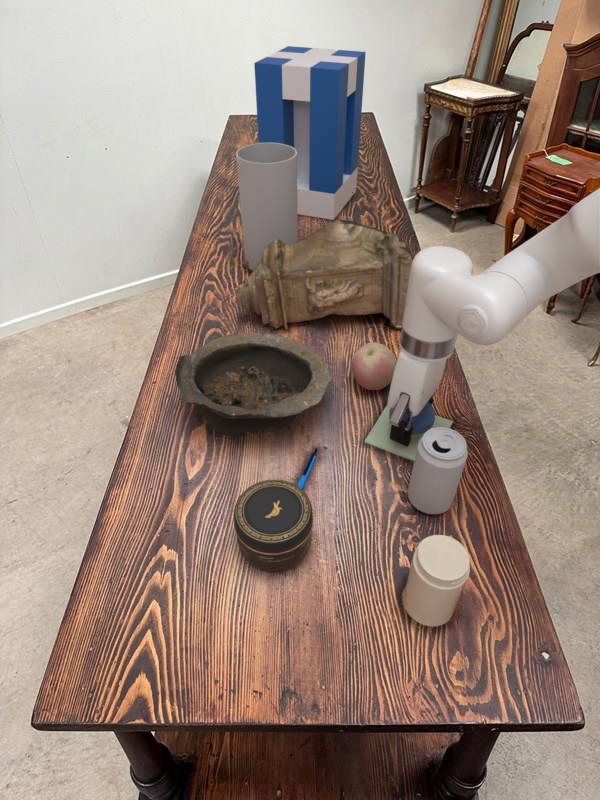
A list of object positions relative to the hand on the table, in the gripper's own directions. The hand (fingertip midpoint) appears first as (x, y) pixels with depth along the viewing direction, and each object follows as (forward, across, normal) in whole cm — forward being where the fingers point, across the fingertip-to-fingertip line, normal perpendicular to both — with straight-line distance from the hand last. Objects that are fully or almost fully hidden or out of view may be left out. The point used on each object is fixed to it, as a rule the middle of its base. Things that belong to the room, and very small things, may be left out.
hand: (409, 426), depth 86 cm
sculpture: (+2, -23, -30) cm, 38 cm away
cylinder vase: (+2, -33, -51) cm, 61 cm away
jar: (+2, +29, -6) cm, 29 cm away
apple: (+2, -7, -11) cm, 13 cm away
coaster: (+1, 0, 0) cm, 1 cm away
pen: (+2, +21, -8) cm, 22 cm away
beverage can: (+1, +10, +8) cm, 13 cm away
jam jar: (+1, +25, +14) cm, 29 cm away
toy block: (+2, -69, -63) cm, 93 cm away
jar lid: (-3, 0, 0) cm, 3 cm away
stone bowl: (+2, +8, -25) cm, 26 cm away
